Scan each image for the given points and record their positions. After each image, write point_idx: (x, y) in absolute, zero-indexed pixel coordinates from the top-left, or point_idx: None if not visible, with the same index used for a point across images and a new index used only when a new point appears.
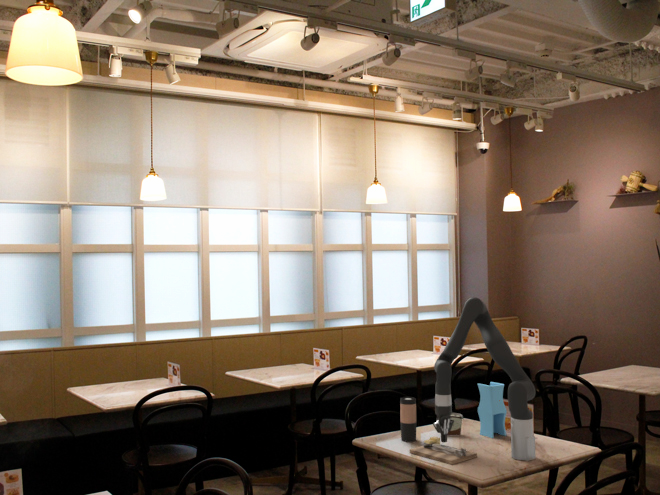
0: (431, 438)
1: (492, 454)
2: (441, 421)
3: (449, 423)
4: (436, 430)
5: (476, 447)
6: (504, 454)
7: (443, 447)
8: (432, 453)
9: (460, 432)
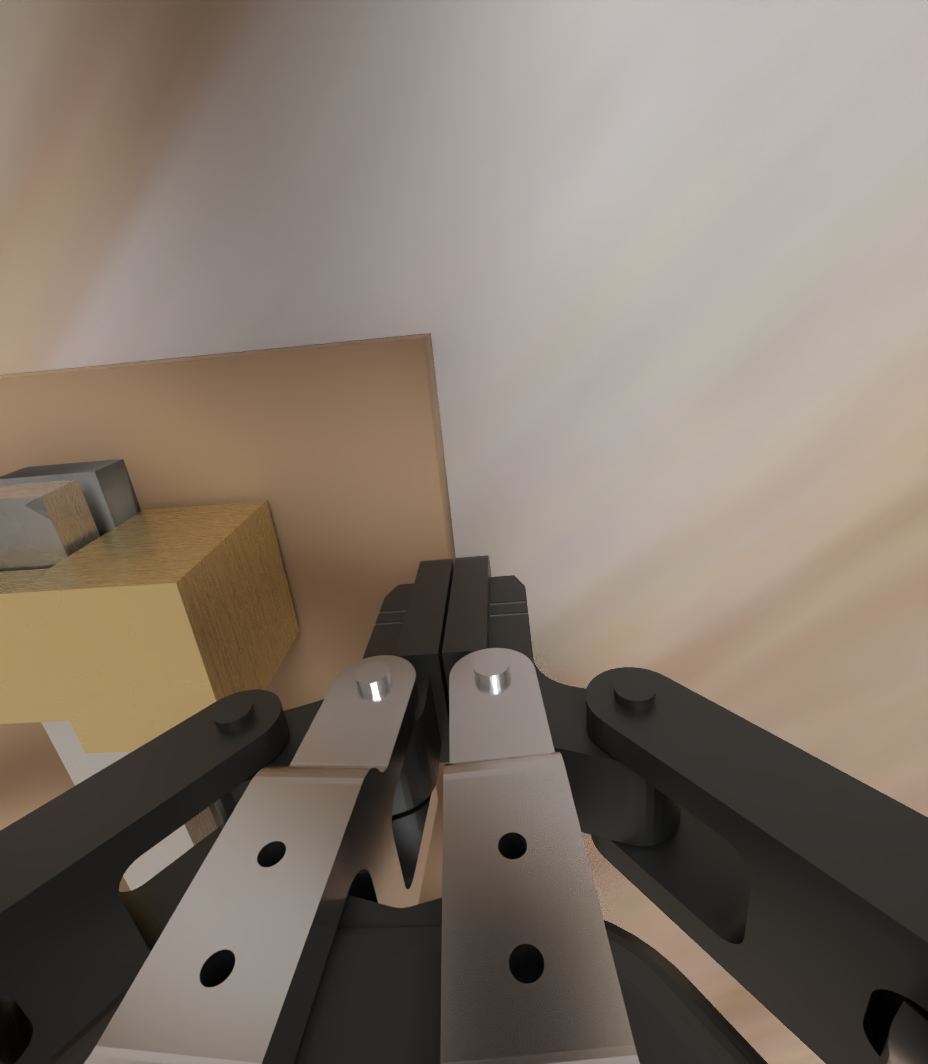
0: (43, 636)
1: (708, 990)
2: None
3: (916, 990)
4: (119, 764)
5: (875, 770)
6: (796, 1039)
7: (132, 880)
8: (6, 763)
9: None
